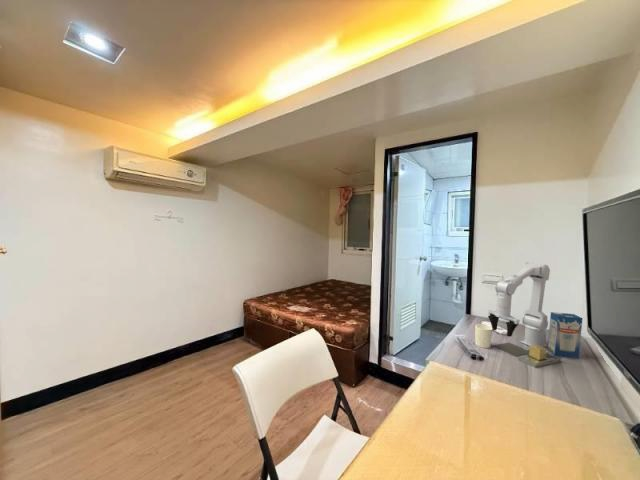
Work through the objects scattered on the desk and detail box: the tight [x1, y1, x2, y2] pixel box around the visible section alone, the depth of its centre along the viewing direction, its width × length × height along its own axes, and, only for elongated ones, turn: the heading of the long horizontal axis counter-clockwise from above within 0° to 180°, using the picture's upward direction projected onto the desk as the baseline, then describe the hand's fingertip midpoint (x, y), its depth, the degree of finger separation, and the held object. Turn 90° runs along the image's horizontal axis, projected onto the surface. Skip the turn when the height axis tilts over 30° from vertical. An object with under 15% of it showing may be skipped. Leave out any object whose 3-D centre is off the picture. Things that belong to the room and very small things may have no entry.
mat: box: [492, 342, 529, 358], centre depth 138 cm, size 12×12×1 cm
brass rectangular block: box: [528, 344, 547, 361], centre depth 126 cm, size 4×4×7 cm
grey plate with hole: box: [518, 351, 562, 368], centre depth 127 cm, size 18×7×2 cm, turn 110°
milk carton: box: [547, 311, 583, 360], centre depth 134 cm, size 10×6×20 cm, turn 76°
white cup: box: [474, 323, 494, 349], centre depth 141 cm, size 8×8×10 cm
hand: (501, 333), depth 133 cm, fingers open, 7 cm apart
